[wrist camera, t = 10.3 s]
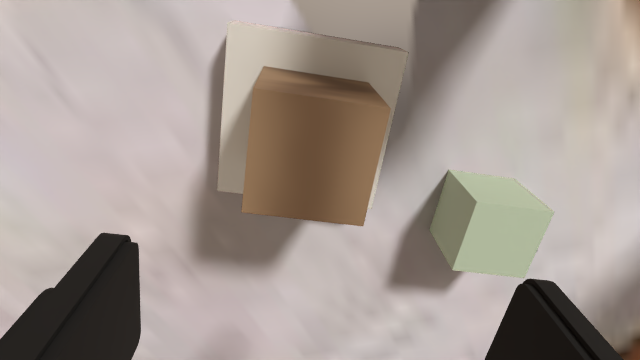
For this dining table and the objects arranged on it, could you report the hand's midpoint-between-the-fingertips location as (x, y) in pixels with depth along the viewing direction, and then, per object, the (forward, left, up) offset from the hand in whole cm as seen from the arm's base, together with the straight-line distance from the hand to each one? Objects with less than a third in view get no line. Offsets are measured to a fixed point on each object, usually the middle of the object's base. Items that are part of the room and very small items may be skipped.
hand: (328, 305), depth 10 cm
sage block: (-13, +5, -18) cm, 23 cm away
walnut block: (0, 0, -15) cm, 15 cm away
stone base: (0, 0, -18) cm, 18 cm away
